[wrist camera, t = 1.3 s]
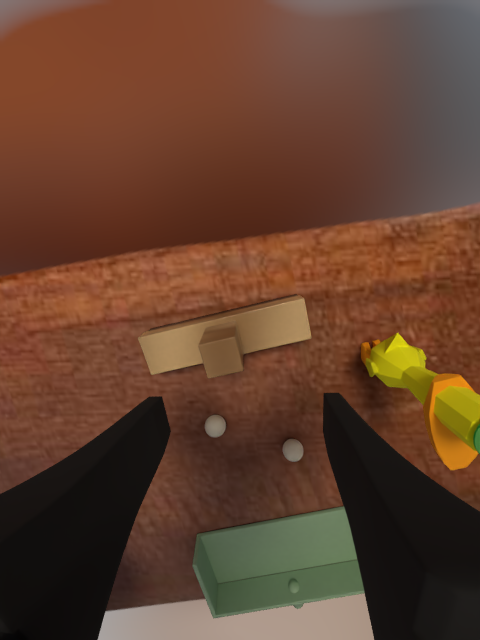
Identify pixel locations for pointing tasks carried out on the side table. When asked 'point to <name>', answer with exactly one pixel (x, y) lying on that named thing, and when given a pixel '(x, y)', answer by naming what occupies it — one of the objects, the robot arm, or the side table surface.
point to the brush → (226, 336)
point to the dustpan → (277, 563)
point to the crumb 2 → (293, 450)
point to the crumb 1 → (215, 426)
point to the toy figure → (431, 398)
